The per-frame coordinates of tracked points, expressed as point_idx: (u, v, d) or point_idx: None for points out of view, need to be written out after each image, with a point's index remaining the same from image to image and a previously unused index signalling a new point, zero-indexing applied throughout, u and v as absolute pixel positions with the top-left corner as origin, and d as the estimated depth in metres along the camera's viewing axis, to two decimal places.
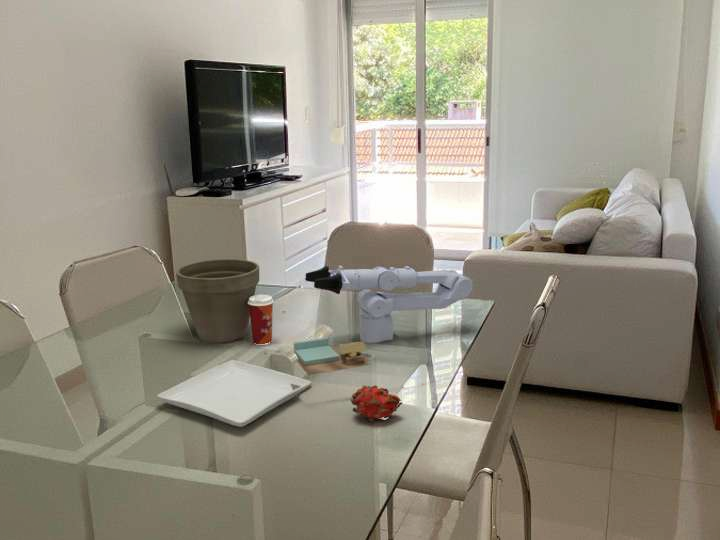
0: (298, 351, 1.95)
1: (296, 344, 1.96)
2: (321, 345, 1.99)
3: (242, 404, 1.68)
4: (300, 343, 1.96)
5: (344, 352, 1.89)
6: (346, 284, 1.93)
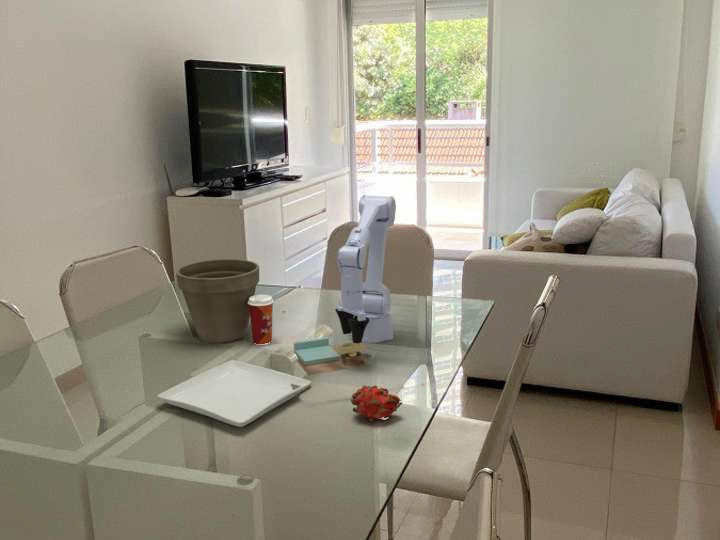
0: (298, 351, 1.95)
1: (296, 344, 1.96)
2: (321, 345, 1.99)
3: (242, 404, 1.68)
4: (300, 343, 1.96)
5: (344, 352, 1.89)
6: (360, 317, 1.81)
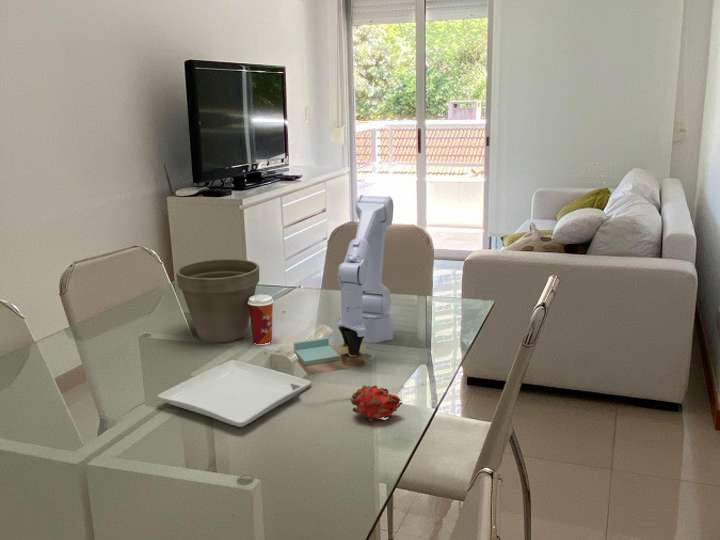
0: (298, 351, 1.95)
1: (296, 344, 1.96)
2: (321, 345, 1.99)
3: (242, 404, 1.68)
4: (300, 343, 1.96)
5: (344, 352, 1.89)
6: (360, 333, 1.82)
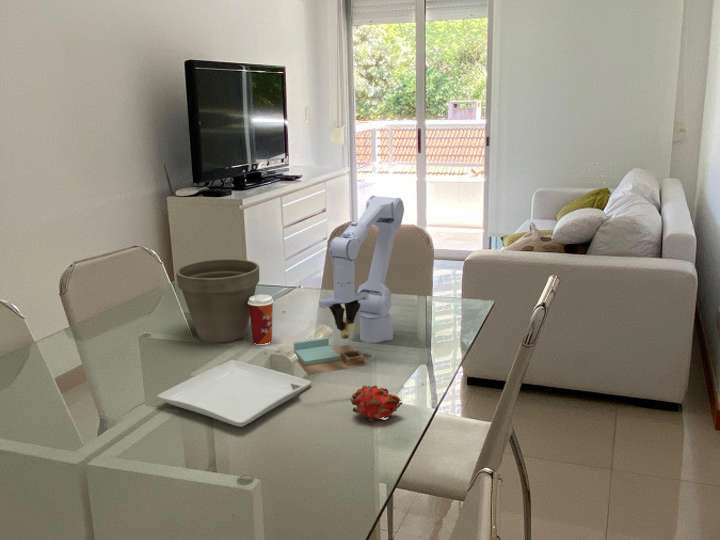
0: (298, 351, 1.95)
1: (296, 344, 1.96)
2: (321, 345, 1.99)
3: (242, 404, 1.68)
4: (300, 343, 1.96)
5: None
6: (319, 304, 1.88)
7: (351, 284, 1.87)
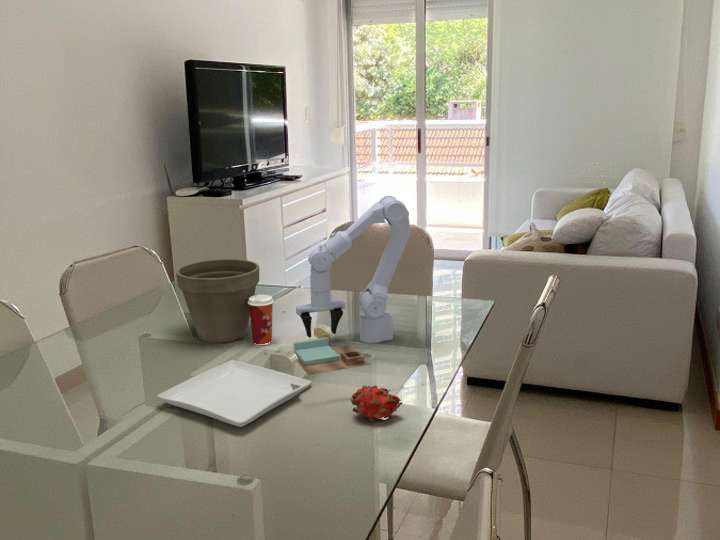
0: (298, 351, 1.95)
1: (296, 344, 1.96)
2: (321, 345, 1.99)
3: (242, 404, 1.68)
4: (300, 343, 1.96)
5: (314, 334, 2.07)
6: (296, 310, 2.01)
7: (326, 293, 1.99)
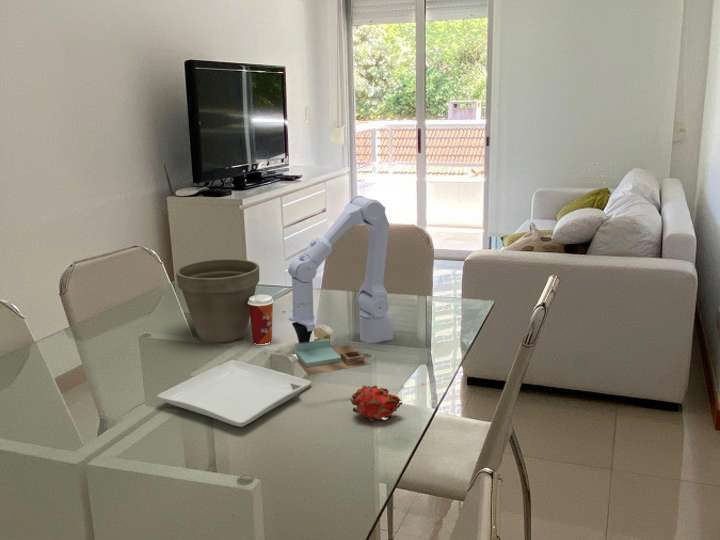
0: (299, 353, 1.94)
1: (297, 346, 1.95)
2: (323, 347, 1.98)
3: (242, 404, 1.68)
4: (302, 345, 1.95)
5: (315, 334, 2.07)
6: (309, 328, 1.89)
7: None
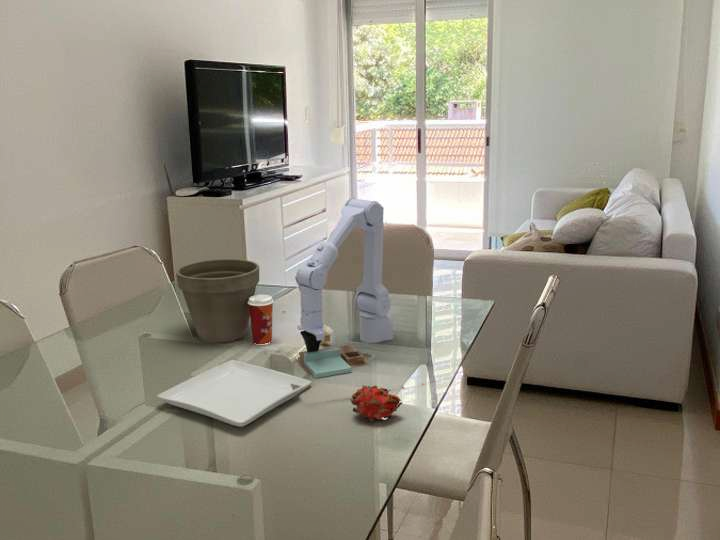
0: (308, 362, 1.87)
1: (306, 355, 1.88)
2: (332, 356, 1.91)
3: (242, 404, 1.68)
4: (311, 354, 1.88)
5: None
6: (319, 337, 1.83)
7: None
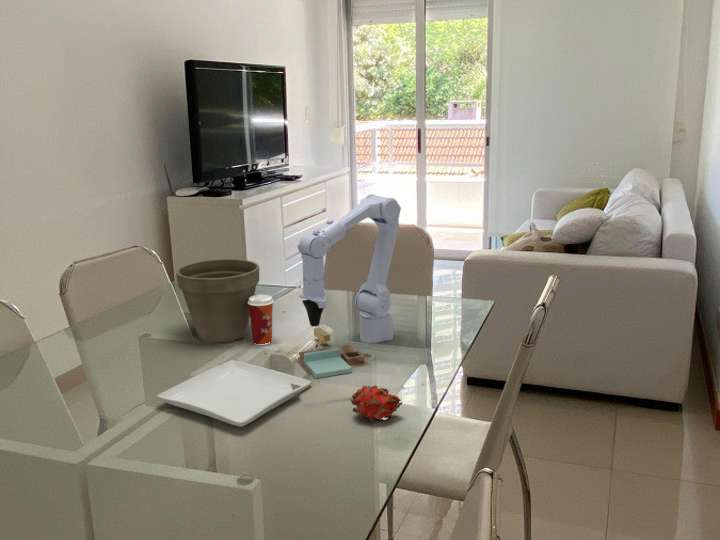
0: (308, 363, 1.87)
1: (306, 355, 1.88)
2: (332, 356, 1.91)
3: (242, 404, 1.68)
4: (311, 355, 1.88)
5: (315, 334, 2.07)
6: (321, 305, 1.85)
7: None
